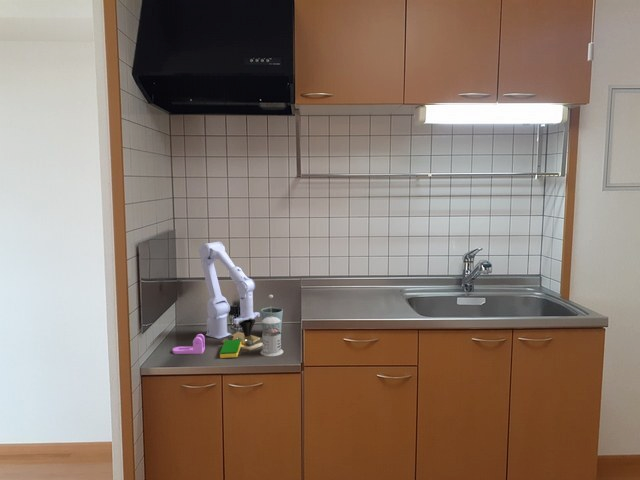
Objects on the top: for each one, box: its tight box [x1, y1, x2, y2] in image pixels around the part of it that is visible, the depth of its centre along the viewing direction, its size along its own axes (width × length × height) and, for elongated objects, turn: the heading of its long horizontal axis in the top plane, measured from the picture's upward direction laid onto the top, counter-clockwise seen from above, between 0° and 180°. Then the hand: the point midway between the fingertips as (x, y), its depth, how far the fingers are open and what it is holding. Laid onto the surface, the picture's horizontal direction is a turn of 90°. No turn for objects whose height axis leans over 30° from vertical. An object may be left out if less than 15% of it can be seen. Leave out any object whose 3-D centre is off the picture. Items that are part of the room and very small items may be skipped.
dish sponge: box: [219, 339, 242, 359], centre depth 208 cm, size 7×14×2 cm, turn 1°
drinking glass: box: [260, 306, 284, 336], centre depth 231 cm, size 10×10×12 cm
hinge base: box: [220, 334, 263, 351], centre depth 219 cm, size 18×9×3 cm, turn 53°
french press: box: [259, 294, 284, 357], centre depth 208 cm, size 10×12×25 cm
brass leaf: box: [231, 331, 261, 344], centre depth 219 cm, size 14×7×2 cm, turn 53°
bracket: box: [172, 333, 206, 355], centre depth 209 cm, size 13×6×7 cm, turn 92°
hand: (247, 335), depth 221 cm, fingers closed, pressing on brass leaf
